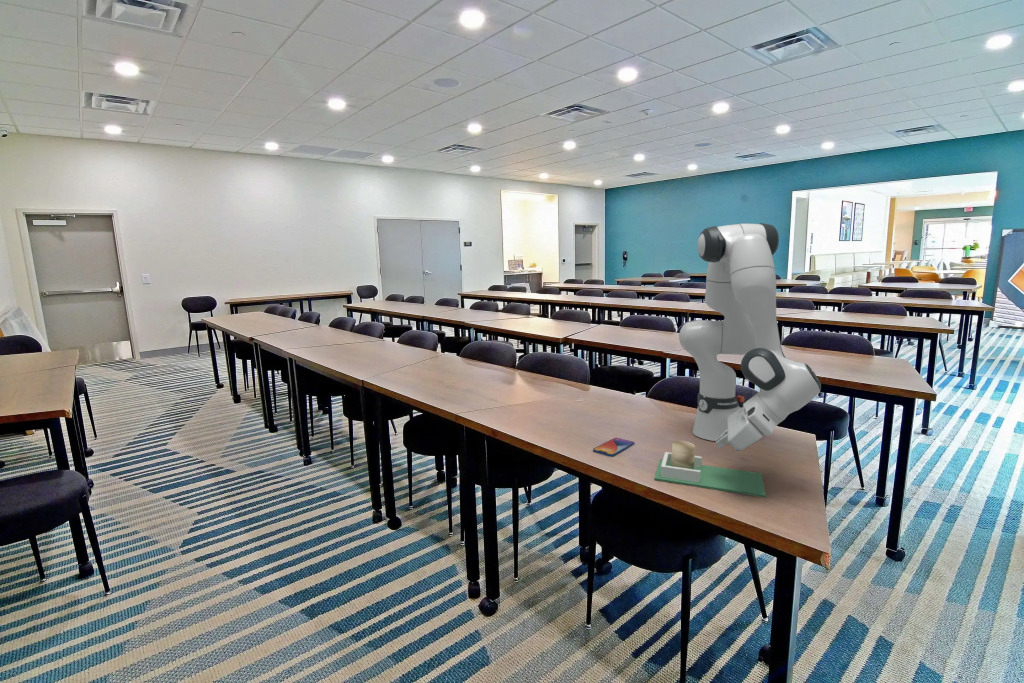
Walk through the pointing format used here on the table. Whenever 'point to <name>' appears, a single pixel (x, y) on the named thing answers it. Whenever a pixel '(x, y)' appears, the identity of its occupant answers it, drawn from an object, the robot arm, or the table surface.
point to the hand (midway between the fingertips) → (717, 444)
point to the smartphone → (613, 447)
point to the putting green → (711, 477)
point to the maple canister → (683, 454)
